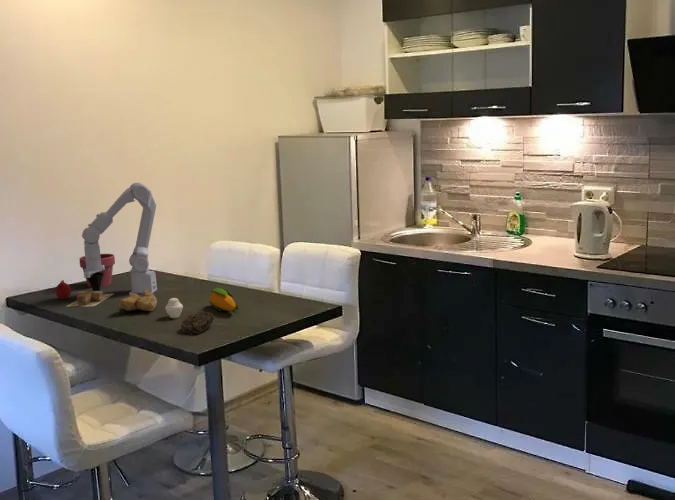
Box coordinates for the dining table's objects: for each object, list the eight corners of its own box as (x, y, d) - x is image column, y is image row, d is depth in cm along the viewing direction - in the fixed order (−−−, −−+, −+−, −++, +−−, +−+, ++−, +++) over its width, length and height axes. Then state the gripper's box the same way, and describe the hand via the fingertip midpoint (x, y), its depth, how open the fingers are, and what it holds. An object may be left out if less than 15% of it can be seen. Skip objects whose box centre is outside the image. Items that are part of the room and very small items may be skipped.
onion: (66, 302, 285) (64, 282, 283) (53, 302, 286) (51, 282, 285) (74, 298, 291) (72, 278, 289) (61, 298, 292) (59, 278, 290)
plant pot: (91, 281, 319) (89, 253, 317) (122, 281, 317) (119, 252, 315) (76, 289, 305) (73, 259, 303) (107, 289, 303) (105, 259, 301)
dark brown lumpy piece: (196, 323, 250) (195, 309, 250) (219, 327, 245) (218, 312, 244) (173, 332, 241) (172, 317, 240) (196, 336, 236) (195, 321, 235)
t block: (103, 299, 285) (102, 290, 284) (93, 305, 276) (92, 296, 276) (81, 299, 286) (80, 291, 285) (70, 305, 277) (70, 296, 277)
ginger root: (147, 313, 259) (141, 292, 259) (111, 321, 265) (106, 300, 265) (171, 304, 274) (166, 283, 273) (138, 311, 280) (132, 291, 279)
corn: (222, 283, 275) (243, 293, 258) (225, 302, 276) (245, 314, 259) (204, 287, 271) (223, 298, 254) (206, 306, 273) (226, 318, 256)
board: (114, 295, 294) (114, 293, 294) (94, 307, 275) (93, 306, 275) (88, 295, 295) (88, 293, 295) (66, 307, 276) (66, 306, 276)
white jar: (174, 320, 255) (173, 300, 254) (162, 318, 258) (160, 298, 257) (187, 315, 260) (185, 296, 259) (174, 313, 263) (173, 294, 262)
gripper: (91, 254, 295) (94, 287, 297) (74, 261, 281) (78, 296, 283) (108, 254, 294) (111, 286, 297) (92, 261, 280) (96, 296, 282)
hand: (96, 291), depth 290 cm, fingers closed
